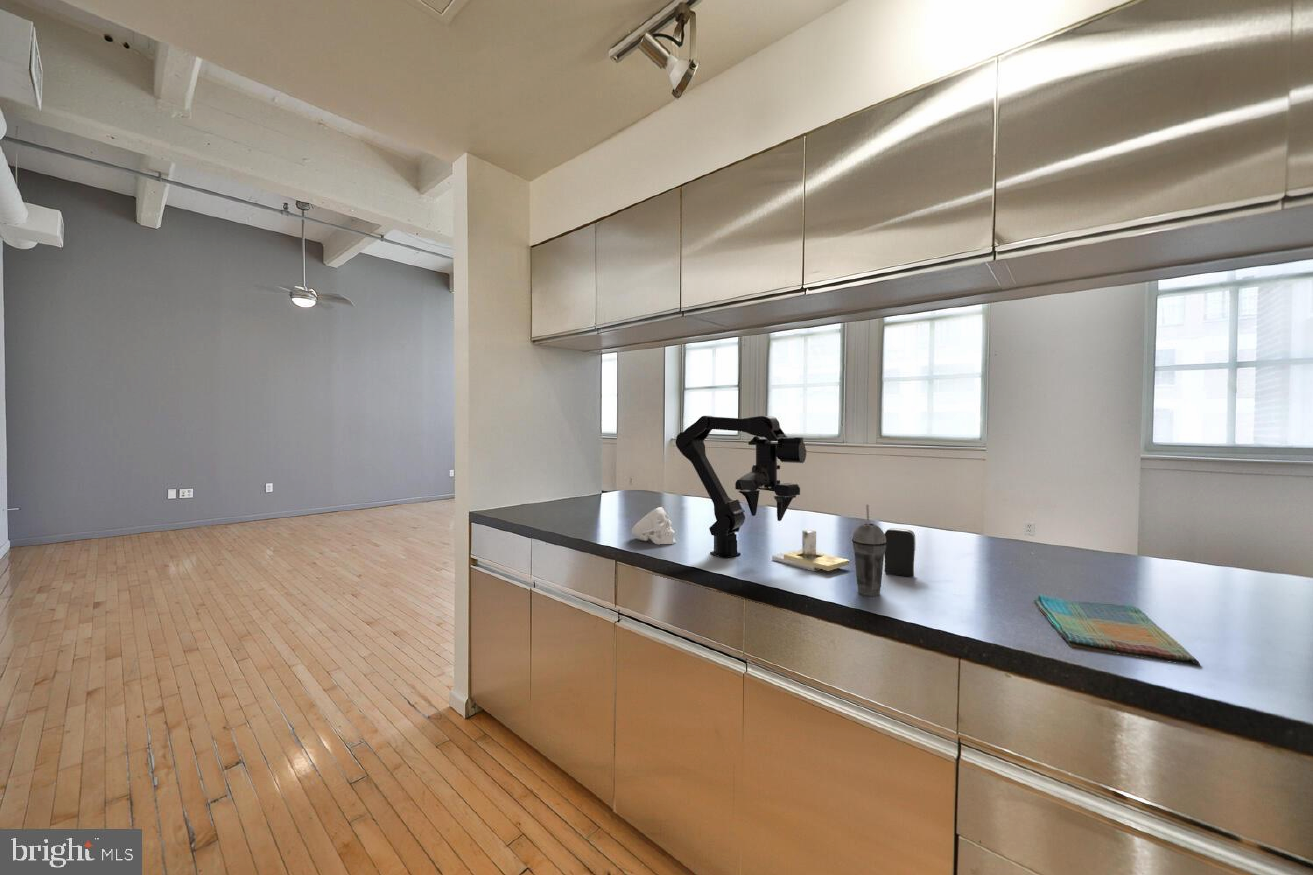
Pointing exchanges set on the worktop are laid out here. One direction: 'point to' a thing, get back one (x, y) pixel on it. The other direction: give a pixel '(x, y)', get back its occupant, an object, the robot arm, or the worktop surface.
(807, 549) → the pin
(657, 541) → the skull bowl
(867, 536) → the beverage cup
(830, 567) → the cream inset tray
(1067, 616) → the dish towel
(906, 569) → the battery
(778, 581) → the worktop surface
